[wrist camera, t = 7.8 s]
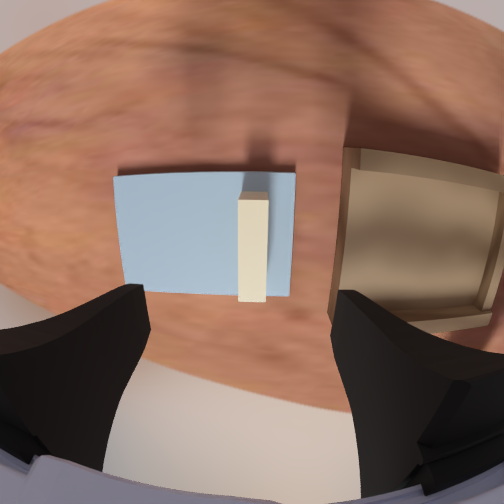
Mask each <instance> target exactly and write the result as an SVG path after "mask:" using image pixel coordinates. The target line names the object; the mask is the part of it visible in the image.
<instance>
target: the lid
mask: <svg viewBox="0 0 504 504" xmlns="http://www.w3.org/2000/svg"><path fill="white" fill-rule="evenodd" d="M295 177H296V173H295V172H267V171H198V172H168V173H148V174H132V175H118V176H114V177H113V181H114V195H115V207H116V218H117V227H118V236H119V244H120V251H121V258H122V265H123V271H124V278H125V283H126V284H129V283H131V284H143V286H144V291H155V292H172V293H193V294H217V295H238V302H266V296H289V289H290V275H291V259H292V242H293V224H294V203H295Z"/></svg>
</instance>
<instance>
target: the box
mask: <svg viewBox="0 0 504 504" xmlns="http://www.w3.org/2000/svg"><path fill="white" fill-rule="evenodd" d="M503 268H504V175H501V174H497V173H493V172H490V171H486V170H482V169H478V168H474V167H469V166H465V165H460V164H456V163H451V162H446V161H441V160H436V159H431V158H425V157H420V156H414V155H408V154H401V153H395V152H388V151H380V150H372V149H364V148H347V147H343V164H342V182H341V197H340V209H339V221H338V232H337V242H336V251H335V260H334V268H333V276H332V284H331V291H330V298H329V305H328V312H327V313H328V315H329V318H330V321H331V324H333V318H334V312H335V306H336V299H337V293H338V290H356V291H358V292H360V293H361V294H363V295H364V296H366V297H368V298H369V299H371V300H372V301H374V302H375V303H377V304H378V305H380V306H381V307H383V308H384V309H386V310H387V311H389V312H390V313H392V314H394V315H395V316H397V317H399V318H400V319H402V320H404V321H406V322H407V323H409V324H411V325H413V326H415V327H417V328H418V329H421V330H423V331H425V332H427V333H429V334H431V333H440V332H448V331H455V330H462V329H469V328H475V327H482V326H488V324H489V322H490V319H491V316H492V314H493V313H492V312H491V311H490V310H491V307H492V304H493V301H494V298H495V295H496V292H497V289H498V286H499V282H500V279H501V276H502V272H503Z"/></svg>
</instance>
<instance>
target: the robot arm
mask: <svg viewBox="0 0 504 504" xmlns="http://www.w3.org/2000/svg"><path fill="white" fill-rule="evenodd" d="M150 331H151V327H150V322H149V316H148V311H147V305H146V299H145V292H144V286H143V284H131V283H129V284H125V285H123V286H120V287H118V288H116V289H113V290H111V291H109V292H107V293H105V294H103V295H101V296H99V297H97V298H95V299H93V300H91V301H89V302H87V303H85V304H83V305H80V306H78V307H76V308H74V309H72V310H69V311H67V312H65V313H62V314H60V315H57V316H54V317H52V318H49V319H46V320H43V321H39V322H35V323H31V324H28V325H24V326H19V327H14V328H9V329H2V330H0V504H281V503H277V502H274V501H270V500H261V499H251V498H242V497H235V496H223V495H212V494H202V493H195V492H187V491H181V490H174V489H169V488H163V487H158V486H153V485H149V484H144V483H140V482H136V481H132V480H128V479H124V478H120V477H117V476H113V475H109V474H106V473H103V472H102V470H103V463H104V458H105V452H106V448H107V443H108V438H109V434H110V431H111V427H112V423H113V420H114V417H115V414H116V410H117V407H118V404H119V401H120V399H121V396H122V394H123V391H124V389H125V388H126V386H127V383H128V381H129V379H130V378H131V375H132V373H133V372H134V370H135V368H136V366H137V364H138V362H139V360H140V358H141V356H142V353H143V351H144V349H145V346H146V343H147V340H148V337H149V334H150ZM330 336H331V342H332V348H333V353H334V358H335V361H336V364H337V367H338V370H339V373H340V376H341V379H342V382H343V385H344V388H345V391H346V394H347V397H348V400H349V404H350V407H351V411H352V416H353V422H354V427H355V433H356V441H357V448H358V456H359V467H360V481H361V499H357V500H351V501H345V502H337V503H331V504H504V354H500V353H492V352H486V351H481V350H477V349H473V348H469V347H465V346H462V345H458V344H455V343H452V342H450V341H447V340H444V339H441V338H439V337H436V336H434V335H431V334H429V333H427V332H425V331H423V330H421V329H418V328H417V327H415V326H413V325H411V324H409V323H407V322H406V321H404V320H402V319H400V318H399V317H397V316H395V315H394V314H392V313H390V312H389V311H387V310H386V309H384V308H383V307H381V306H380V305H378V304H377V303H375V302H374V301H372V300H371V299H369V298H368V297H366V296H364V295H363V294H361V293H360V292H358V291H356V290H338V293H337V299H336V306H335V312H334V318H333V324H332V329H331V335H330Z"/></svg>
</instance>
